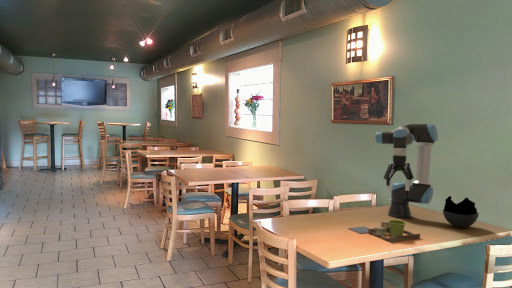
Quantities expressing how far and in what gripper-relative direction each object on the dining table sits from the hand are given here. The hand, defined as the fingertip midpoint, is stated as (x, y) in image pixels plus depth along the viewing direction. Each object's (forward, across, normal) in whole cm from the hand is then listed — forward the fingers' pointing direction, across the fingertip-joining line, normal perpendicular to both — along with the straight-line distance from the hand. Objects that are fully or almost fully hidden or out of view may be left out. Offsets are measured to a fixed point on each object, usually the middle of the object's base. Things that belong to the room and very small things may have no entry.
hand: (398, 190), depth 241 cm
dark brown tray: (+25, -6, -5) cm, 26 cm away
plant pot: (+25, -6, -8) cm, 27 cm away
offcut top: (+21, -7, +1) cm, 22 cm away
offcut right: (+25, -2, +1) cm, 25 cm away
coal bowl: (+24, +46, -5) cm, 52 cm away
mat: (+25, -17, +11) cm, 32 cm away
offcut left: (+25, -11, +1) cm, 28 cm away
